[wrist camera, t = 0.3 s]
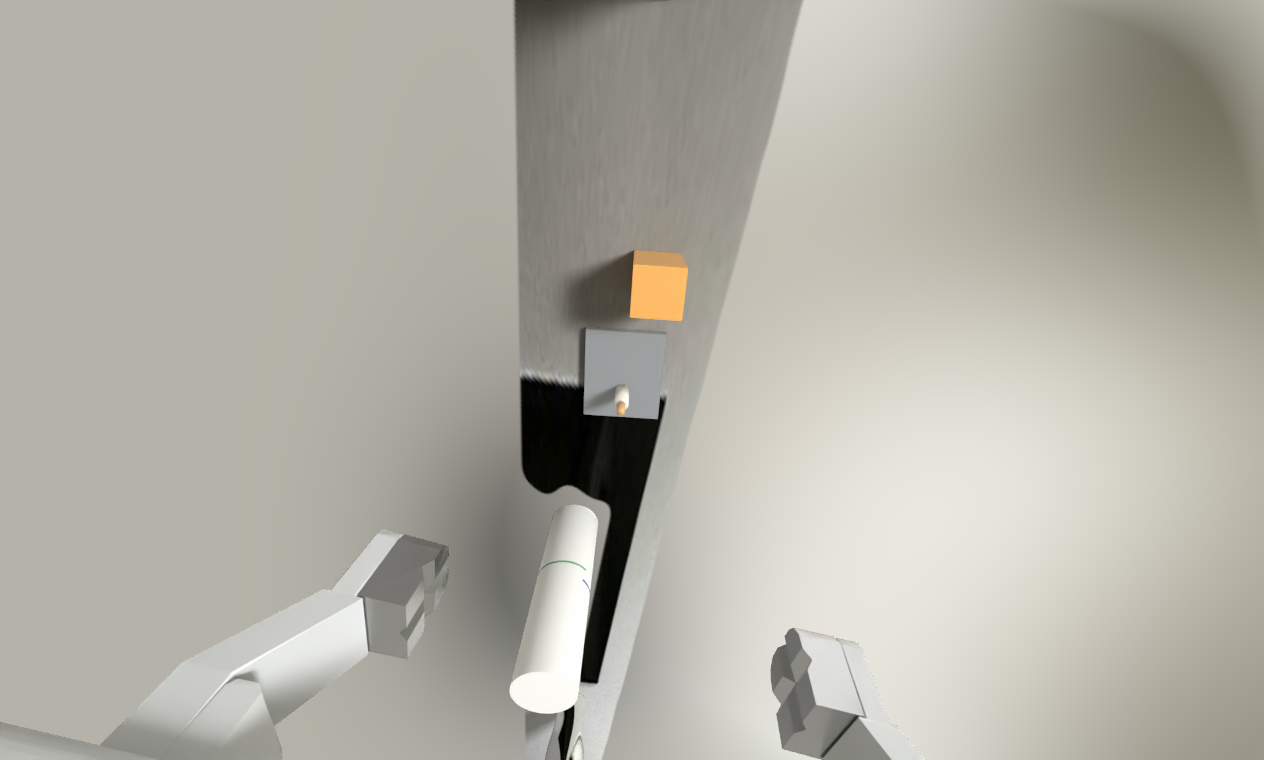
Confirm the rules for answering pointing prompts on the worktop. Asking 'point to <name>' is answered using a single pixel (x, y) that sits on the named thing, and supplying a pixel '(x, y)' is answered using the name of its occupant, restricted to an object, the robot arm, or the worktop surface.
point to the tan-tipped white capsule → (621, 399)
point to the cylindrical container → (557, 616)
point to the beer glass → (568, 733)
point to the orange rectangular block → (658, 285)
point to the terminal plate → (623, 370)
